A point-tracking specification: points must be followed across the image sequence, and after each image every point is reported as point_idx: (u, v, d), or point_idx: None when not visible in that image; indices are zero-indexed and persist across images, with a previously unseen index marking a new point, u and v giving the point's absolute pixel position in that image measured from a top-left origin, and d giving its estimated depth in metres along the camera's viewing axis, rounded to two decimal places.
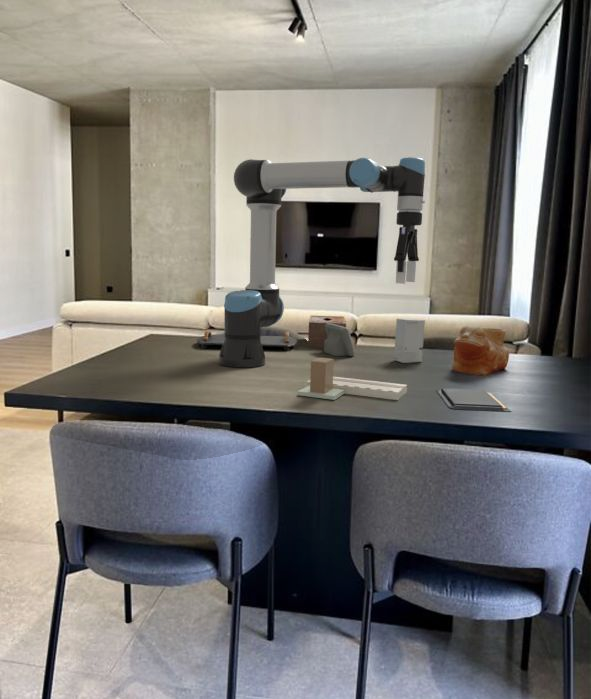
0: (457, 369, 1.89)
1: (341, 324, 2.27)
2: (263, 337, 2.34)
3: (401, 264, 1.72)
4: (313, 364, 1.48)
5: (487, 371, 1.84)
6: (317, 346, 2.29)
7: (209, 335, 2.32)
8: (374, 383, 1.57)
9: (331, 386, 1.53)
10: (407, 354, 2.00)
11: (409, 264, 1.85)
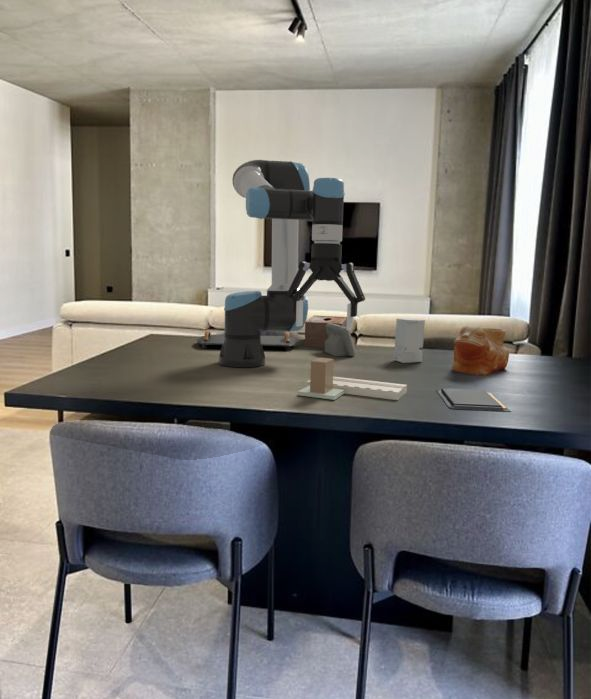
0: (457, 369, 1.89)
1: (337, 324, 2.26)
2: (262, 337, 2.34)
3: None
4: (313, 364, 1.48)
5: (487, 371, 1.84)
6: (313, 346, 2.29)
7: (208, 335, 2.31)
8: (374, 383, 1.57)
9: (331, 386, 1.53)
10: (407, 354, 2.00)
11: None
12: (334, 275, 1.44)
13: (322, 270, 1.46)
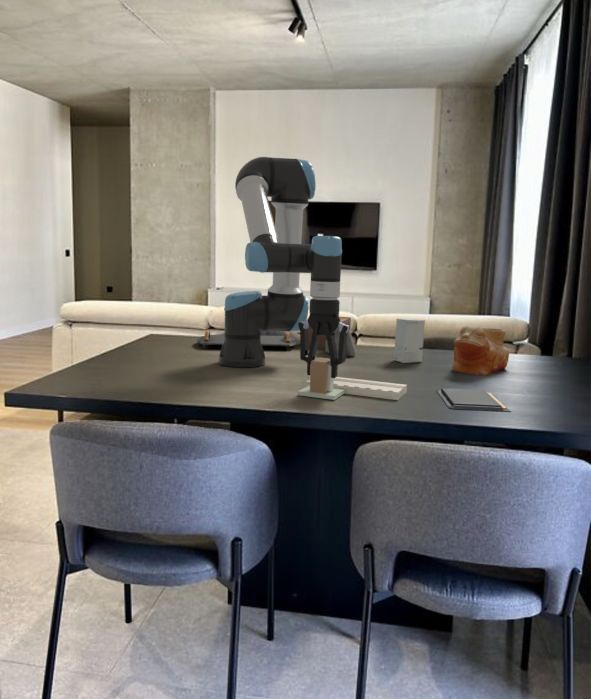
0: (457, 369, 1.89)
1: None
2: (262, 337, 2.35)
3: None
4: (313, 364, 1.48)
5: (487, 371, 1.84)
6: None
7: (208, 335, 2.31)
8: (374, 383, 1.57)
9: None
10: (407, 354, 2.00)
11: None
12: (328, 333, 1.47)
13: (320, 323, 1.48)
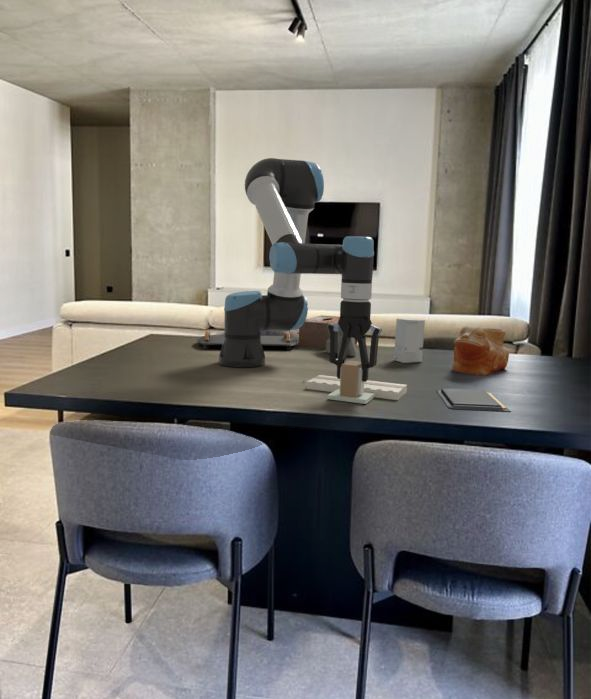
0: (457, 369, 1.88)
1: None
2: (262, 337, 2.35)
3: None
4: (344, 367, 1.45)
5: (487, 371, 1.84)
6: (307, 345, 2.31)
7: None
8: (374, 383, 1.57)
9: None
10: (407, 354, 2.00)
11: None
12: (359, 335, 1.44)
13: (351, 326, 1.45)
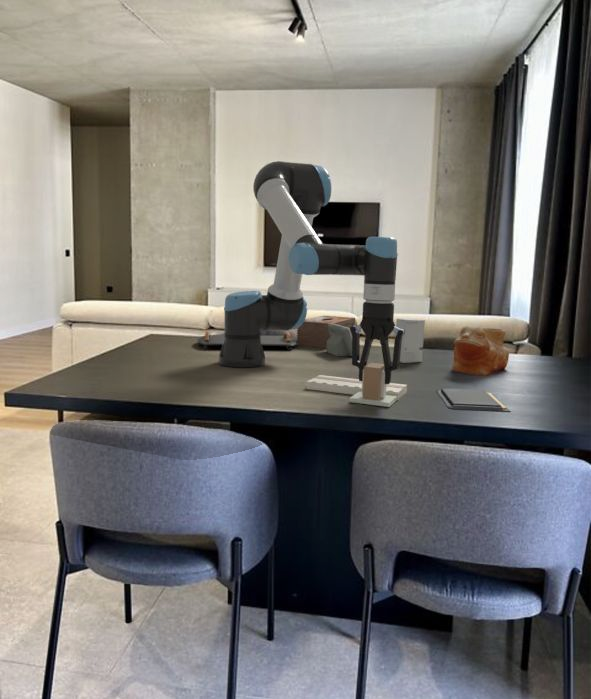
0: (457, 369, 1.88)
1: (327, 324, 2.26)
2: (261, 337, 2.35)
3: None
4: (366, 370, 1.43)
5: (487, 371, 1.84)
6: (305, 345, 2.31)
7: None
8: None
9: None
10: (407, 354, 2.00)
11: None
12: (383, 337, 1.42)
13: (374, 328, 1.43)
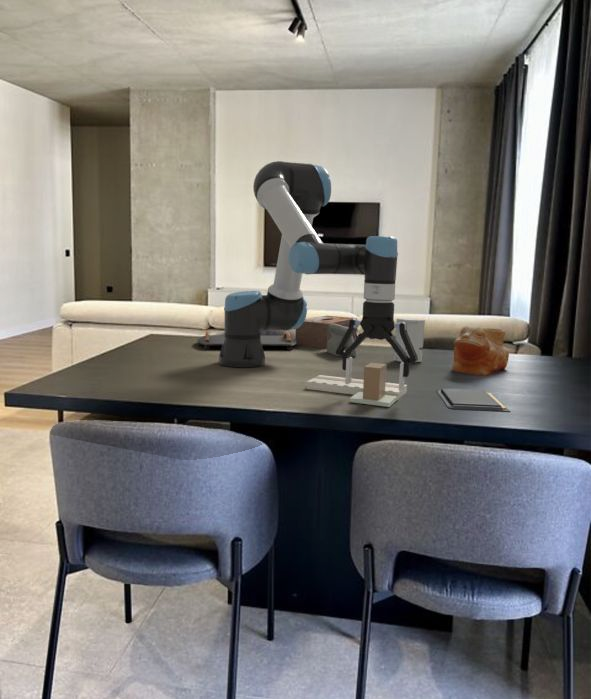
0: (457, 369, 1.88)
1: (323, 324, 2.26)
2: (261, 337, 2.35)
3: None
4: (366, 370, 1.43)
5: (487, 371, 1.84)
6: (303, 344, 2.32)
7: None
8: None
9: (384, 392, 1.47)
10: (407, 354, 2.00)
11: None
12: (387, 335, 1.41)
13: (374, 329, 1.43)
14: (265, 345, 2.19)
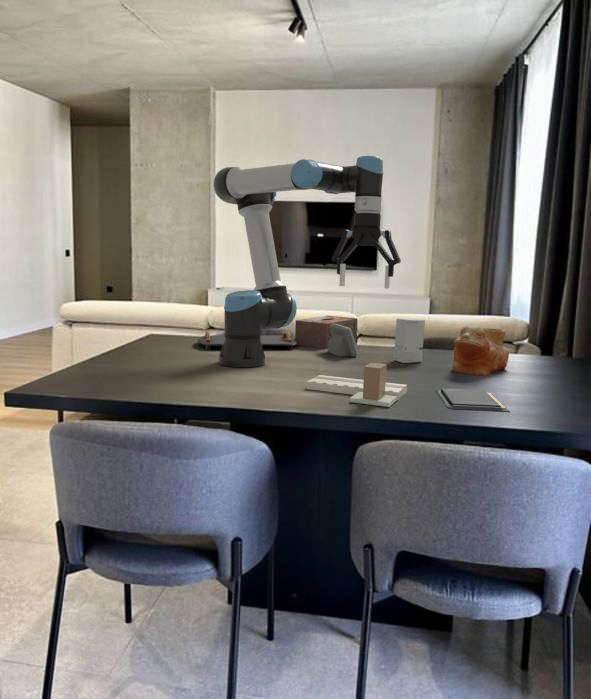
0: (457, 369, 1.88)
1: (323, 324, 2.26)
2: (260, 337, 2.35)
3: None
4: (366, 370, 1.43)
5: (487, 371, 1.84)
6: (302, 344, 2.32)
7: None
8: None
9: (384, 392, 1.47)
10: (407, 354, 2.00)
11: None
12: (374, 240, 1.67)
13: (363, 236, 1.69)
14: None
